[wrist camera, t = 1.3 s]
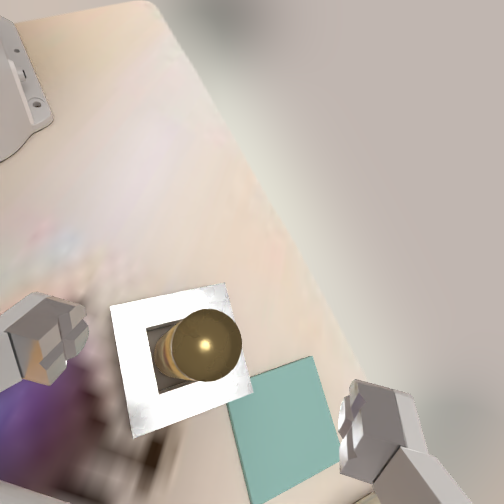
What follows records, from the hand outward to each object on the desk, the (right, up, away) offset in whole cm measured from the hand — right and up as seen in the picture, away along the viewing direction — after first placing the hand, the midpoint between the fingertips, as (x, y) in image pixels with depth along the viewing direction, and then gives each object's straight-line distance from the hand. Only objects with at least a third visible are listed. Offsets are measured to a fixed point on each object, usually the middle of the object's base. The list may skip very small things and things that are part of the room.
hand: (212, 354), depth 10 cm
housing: (-7, -8, +26) cm, 29 cm away
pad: (+5, -17, +28) cm, 33 cm away
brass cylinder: (-7, -8, +26) cm, 29 cm away
